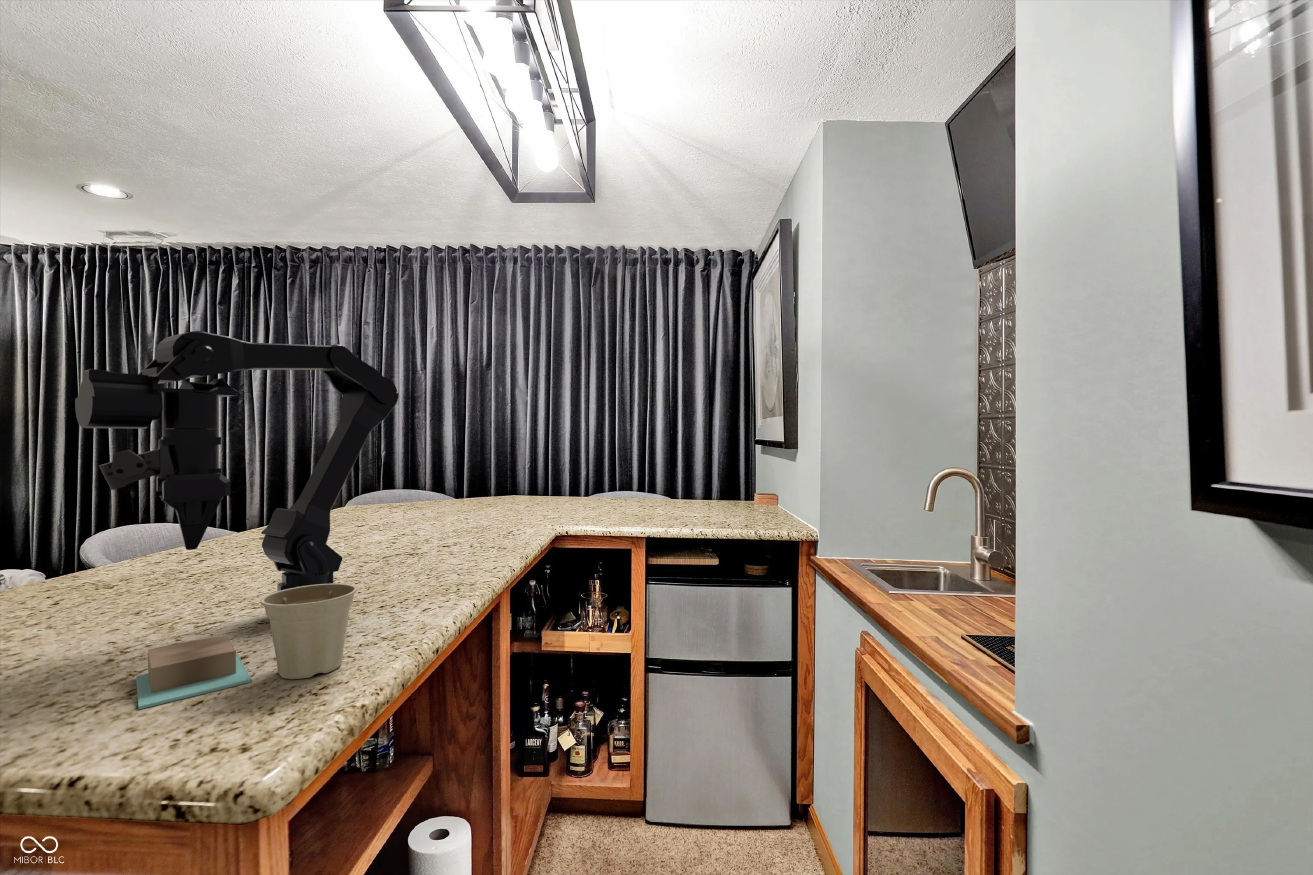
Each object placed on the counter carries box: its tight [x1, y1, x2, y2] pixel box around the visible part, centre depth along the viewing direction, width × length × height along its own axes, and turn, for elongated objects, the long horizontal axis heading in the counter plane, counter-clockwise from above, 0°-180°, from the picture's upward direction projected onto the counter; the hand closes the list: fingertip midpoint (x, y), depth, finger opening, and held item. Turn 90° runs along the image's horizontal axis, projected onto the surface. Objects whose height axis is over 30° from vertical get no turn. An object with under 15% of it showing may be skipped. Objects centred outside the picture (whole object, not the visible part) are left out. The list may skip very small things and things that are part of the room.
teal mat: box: [135, 653, 252, 710], centre depth 61 cm, size 9×10×1 cm
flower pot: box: [259, 582, 358, 680], centre depth 64 cm, size 9×9×9 cm
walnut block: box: [147, 633, 237, 693], centre depth 63 cm, size 7×2×8 cm
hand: (191, 549), depth 73 cm, fingers closed
